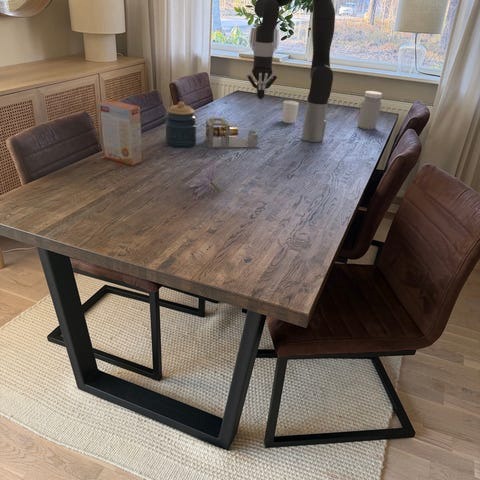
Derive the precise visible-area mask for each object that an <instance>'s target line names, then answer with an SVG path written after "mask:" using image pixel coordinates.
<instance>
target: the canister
mask: <svg viewBox="0 0 480 480" xmlns="http://www.w3.org/2000/svg"><path fill="white" fill-rule="evenodd" d="M166 109H167V110H166V111H167V113H165V115H164V117H165V118H166V120H165V143H166V145H168V146H169V147H172V148H179V149H186V148H188V149H189V148H193V147H194V146H195V145H196V142H197V123H196V119H197V114H195V112H196V110H195V109H194V108H192V106H189V105H186V104H185V102H183V101H181V100H180V101H178V103H177V104H174V105H171V106H169V107H168V108H166Z"/></svg>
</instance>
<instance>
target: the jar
mask: <svg viewBox="0 0 480 480" xmlns="http://www.w3.org/2000/svg"><path fill="white" fill-rule="evenodd" d="M382 96H383V93H382V92H380V91H376V90H366V91H365V93H364V97H363V100H362V101H361V105H360V110H359V115H358V119H357V124H356V125H357V127H358V128H359V129H362V130H366V131H367V130H368V131H372V130H374V129H375V128H376V127H377V122H378V119H379V115H380V111H381V106H382V101H381V98H382Z"/></svg>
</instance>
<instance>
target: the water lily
mask: <svg viewBox="0 0 480 480" xmlns="http://www.w3.org/2000/svg"><path fill="white" fill-rule="evenodd" d="M217 160H218V159H217V158H216V159H215V160H214V162H213V164H210V165H209V167H208V169H207V168H205V167H204V168H202V169H201V176H202V178H194V179H193V181H194V182H192V184H190V185H189V186H188V187H189V188H197V187H198V188H197V189H195V191H194V193H196V192H198V193H197V195H196V199H197V198H199V197H200V196H202V195H203V194H204V193H205V192H206V190H208V188H209V187H210V185H212V186H213V187H214V188H215V190H216V191H217V192H218V193H220V192H221V190H220V189H219V188H218V187H217V186H216V185H215V184H214V183H213V180H214V179H215V178H216V177H217V174H218V171H219V168H220V166H219V165H218V164H217V162H218V161H217ZM217 165H218V166H217ZM197 196H198V197H197Z"/></svg>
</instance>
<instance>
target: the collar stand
mask: <svg viewBox="0 0 480 480" xmlns="http://www.w3.org/2000/svg"><path fill="white" fill-rule="evenodd" d="M205 119H206V118H205ZM216 121H220V122H216ZM215 126H221V127H225V137H220V138H214V137H213V128H214V127H215ZM207 127H209V137H207V134H206V133H205V138H204V142H205V143H206V144H205V145H206V146H207V147H208V149H259V148H260V146H259V145H258V142H259V140H258V139H259V134H258V133H255V129H248V134H247V135H248V136H247V138H230V137H229V135H230V127H231V124H230V123H229V122H228V121H227V119H223V118H222V117H209V118H207V119H206V120H205V130H206V129H207Z"/></svg>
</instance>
